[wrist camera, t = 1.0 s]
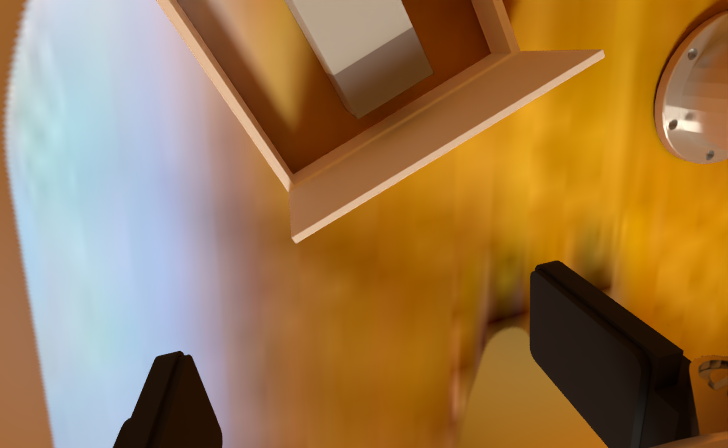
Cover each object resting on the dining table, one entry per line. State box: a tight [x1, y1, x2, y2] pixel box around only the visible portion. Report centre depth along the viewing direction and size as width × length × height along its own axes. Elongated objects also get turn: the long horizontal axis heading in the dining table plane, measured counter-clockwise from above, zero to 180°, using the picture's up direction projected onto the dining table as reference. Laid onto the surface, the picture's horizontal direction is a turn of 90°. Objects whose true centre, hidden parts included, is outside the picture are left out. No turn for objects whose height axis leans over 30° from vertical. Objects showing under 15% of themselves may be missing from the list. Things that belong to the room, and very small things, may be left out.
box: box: [285, 0, 434, 119], centre depth 26 cm, size 6×12×5 cm, turn 30°
